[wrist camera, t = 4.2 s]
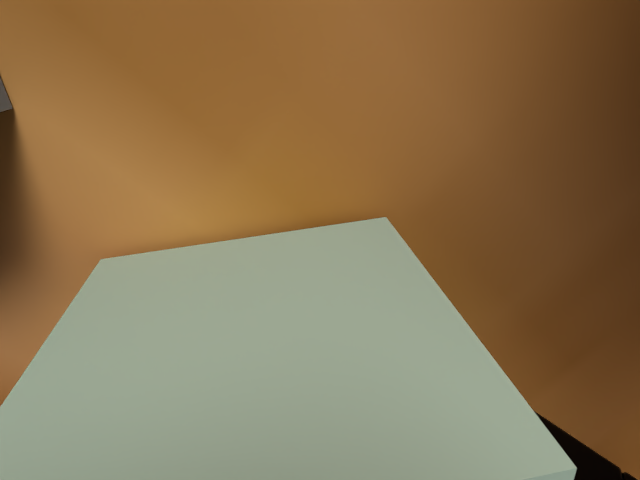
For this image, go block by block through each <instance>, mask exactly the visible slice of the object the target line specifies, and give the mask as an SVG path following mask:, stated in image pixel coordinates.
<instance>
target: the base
mask: <svg viewBox="0 0 640 480" xmlns="http://www.w3.org/2000/svg"><path fill="white" fill-rule="evenodd" d="M9 109H12V106H11V103H10V101H9V98H8V96H7V93H6V91H5V88H4V86H3V83H2V81H1V78H0V112H2V111H5V110H9Z"/></svg>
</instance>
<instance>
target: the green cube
mask: <svg viewBox="0 0 640 480" xmlns="http://www.w3.org/2000/svg"><path fill="white" fill-rule="evenodd" d="M576 470H577V467H576V466H575V465H574V463H573V462H572V461H571V460H570V458H569V457H568V456H567V454H566V453H565V452H564V450H563V449H562V448H561V446H560V445H559V444H558V442H557V441H556V440H555V438H554V437H553V436H552V435H551V433H550V432H549V431H548V429H547V428H546V427H545V425H544V424H543V423H542V421H541V420H540V419H539V417H538V416H537V415H536V414H535V412H534V411H533V410H532V408H531V407H530V406H529V404H528V403H527V402H526V400H525V399H524V398H523V396H522V395H521V394H520V392H519V391H518V390H517V389H516V387H515V386H514V385H513V383H512V382H511V381H510V379H509V378H508V377H507V375H506V374H505V373H504V371H503V370H502V369H501V368H500V366H499V365H498V364H497V362H496V361H495V360H494V358H493V357H492V356H491V354H490V353H489V352H488V350H487V349H486V348H485V346H484V345H483V344H482V343H481V341H480V340H479V339H478V337H477V336H476V335H475V333H474V332H473V331H472V329H471V328H470V327H469V325H468V324H467V323H466V322H465V320H464V319H463V318H462V316H461V315H460V314H459V312H458V311H457V310H456V308H455V307H454V306H453V304H452V303H451V302H450V300H449V299H448V298H447V297H446V295H445V294H444V293H443V291H442V290H441V289H440V287H439V286H438V285H437V283H436V282H435V281H434V279H433V278H432V277H431V276H430V274H429V273H428V272H427V270H426V269H425V268H424V266H423V265H422V264H421V262H420V261H419V260H418V258H417V257H416V256H415V254H414V253H413V252H412V251H411V249H410V248H409V247H408V245H407V244H406V243H405V241H404V240H403V239H402V237H401V236H400V235H399V233H398V232H397V231H396V230H395V228H394V227H393V226H392V224H391V223H390V222H389V220H388V219H387V218H386V217H383V218H376V219H370V220H363V221H356V222H349V223H343V224H336V225H329V226H322V227H316V228H309V229H302V230H295V231H289V232H282V233H275V234H268V235H262V236H255V237H248V238H241V239H235V240H228V241H221V242H214V243H208V244H201V245H194V246H187V247H180V248H174V249H167V250H160V251H153V252H147V253H140V254H133V255H126V256H120V257H113V258H106V259H101V260H100V261H99V263H98V264H97V266H96V267H95V269H94V270H93V271H92V273H91V274H90V276H89V277H88V279H87V280H86V282H85V283H84V285H83V286H82V288H81V289H80V291H79V292H78V294H77V295H76V296H75V298H74V299H73V301H72V302H71V304H70V305H69V307H68V308H67V310H66V311H65V313H64V314H63V316H62V317H61V319H60V320H59V321H58V323H57V324H56V326H55V327H54V329H53V330H52V332H51V333H50V335H49V336H48V338H47V339H46V341H45V342H44V344H43V345H42V346H41V348H40V349H39V351H38V352H37V354H36V355H35V357H34V358H33V360H32V361H31V363H30V364H29V366H28V367H27V369H26V370H25V371H24V373H23V374H22V376H21V377H20V379H19V380H18V382H17V383H16V385H15V386H14V388H13V389H12V391H11V392H10V394H9V395H8V396H7V398H6V399H5V401H4V402H3V404H2V405H1V407H0V480H574V477H575V474H576Z"/></svg>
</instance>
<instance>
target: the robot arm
mask: <svg viewBox="0 0 640 480" xmlns="http://www.w3.org/2000/svg"><path fill="white" fill-rule="evenodd" d="M534 412H535V411H534ZM535 414H536V415H537V416H538V417H539V419H540V420H541V421H542V423H543V424H544V425H545V427H546V428H547V429H548V431H549V432H550V433H551V435H552V436H553V437H554V438H555V440H556V441H557V442H558V444H559V445H560V446H561V448H562V449H563V450H564V452H565V453H566V454H567V456H568V457H569V458H570V460H571V461H572V462H573V463H574V465H575V466H576V467H577V470H576V474H575V477H574V480H637V479H636V478H634V477H633V476H631V475H630V474H628V473H626V472H624V473H622V472H621V470H620V468H619V467H617V466H616V465H614V464H613V463H611V462H610V461H608V460H607V459H605V458H604V457H602V456H601V455H599V454H598V453H596V452H595V451H593V450H592V449H590V448H589V447H587V446H586V445H584V444H583V443H581V442H580V441H578V440H577V439H575V438H574V437H572V436H571V435H569V434H568V433H566V432H565V431H563V430H562V429H560V428H559V427H557V426H556V425H554V424H553V423H551V422H550V421H548V420H547V419H545V418H544V417H542V416H541V415H539V414H538V413H536V412H535Z"/></svg>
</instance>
